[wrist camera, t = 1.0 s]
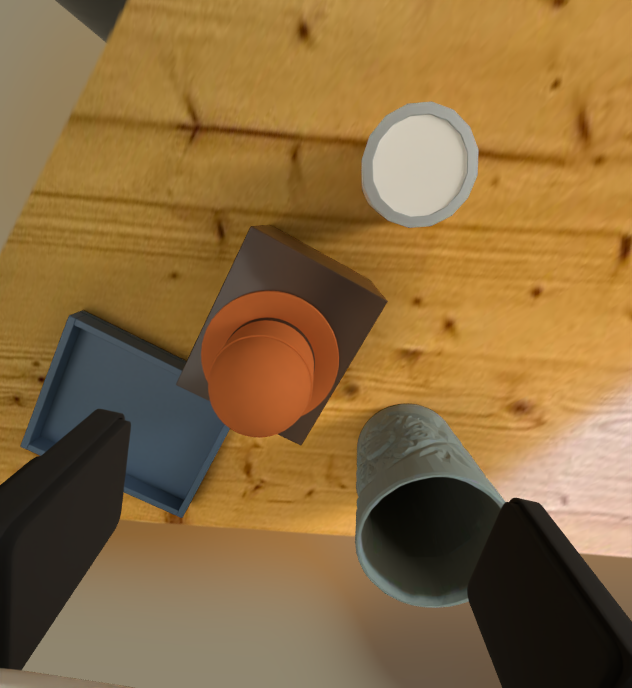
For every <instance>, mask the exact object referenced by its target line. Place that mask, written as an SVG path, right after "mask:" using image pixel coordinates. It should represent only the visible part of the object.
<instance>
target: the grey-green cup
mask: <svg viewBox="0 0 632 688" xmlns="http://www.w3.org/2000/svg"><path fill="white" fill-rule="evenodd" d="M356 477H357V482H356V489H357V494H358V499H357V511H356V535H355V544H356V553H357V556H358V560H359V562H360V565H361V567H362V569H363V571H364V572H365V574H366V575H367V576H368V578H369V579H370V580H371V581H372V582H373V583H374V584H375V585H376V586H377V587H379V588H380V589H381V590H382V591H383V592H384V593H385V594H387V595H389V596H391V597H393V598H395V599H396V600H399V601H401V602H404V603H407V604H410V605H415V606H420V607H434V608H435V607H436V608H438V607H449V606H454V605H459V604H462V603H465V602H468V601H469V600H468V596H467V587H468V583H469V580H470V578H471V576H472V574H473V571H474V569H475V567H476V564H477V562H478V560H479V558H480V555H481V553H482V551H483V549H484V546H485V544H486V542H487V539H488V537H489V535H490V533H491V530H492V528H493V526H494V524H495V521H496V519H497V517H498V514H499V512H500V510H501V508H502V506H503V504H504V503H506V502H505V501H504V499H503V498H502V497H501V495H500V494H499V493H498V491H497V490H496V489H495V487H494V486H493V485H492V484H491V482H490V481H489V480H488V479H487V478H486V477H485V475H484V473H483V472H482V471H481V469H480V468H479V466H478V465H477V464H476V462H475V461H474V459H473V458H472V457H471V455H470V454H469V453H468V451H467V450H466V449H465V448H464V447H463V445H462V444H461V442H460V441H459V439H458V438H457V437H456V435H455V434H454V433H453V432H452V430H451V428H450V427H449V426H448V424H447V423H446V422H445V421H444V420H443V418H442V417H441V416H439V415H438V414H437V413H435V412H434V411H432V410H430V409H428V408H425V407H423V406H420V405H416V404H399V405H394V406H391V407H387V408H385V409H383V410H381V411H380V412H378V413H376V414H375V415H374V416H373V417H372V418H370V419H369V421H368V422H367V423H366V424H365V426H364V427H363V429H362V431H361V433H360V436H359V439H358V444H357V473H356Z"/></svg>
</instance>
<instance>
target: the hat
mask: <svg viewBox="0 0 632 688" xmlns="http://www.w3.org/2000/svg"><path fill="white" fill-rule="evenodd" d="M201 362H202V367H203V372H204V375H205V378H206V380H207V382H208V393H209V398H210V402H211V405H212V407H213V409H214V411H215V413H216V415H217V416H218V417H219V419H220V420H221V421H222V422H223V423H224V424H225V425H226V426H227V427H229V428H230V429H231V430H233V431H235V432H237V433H239V434H242V435H245V436H250V437H268V436H272V435H275V434H278V433H281V432H283V431H285V430H286V429H288V428H289V427H290V426H292V425H293V424H294V423H295V422H296V421H297V420H298V419H299V418H300V417H301V416H303V415H305V414H307V413H308V412H310V411H312V410H313V409H314V408H316V407H317V406H318V405H319V404H320V403H321V402H322V401H323V400H324V399H325V398H326V396H327V395H328V393H329V392H330V391H331V389H332V387H333V385H334V382H335V379H336V377H337V372H338V367H339V352H338V346H337V341H336V338H335V335H334V333H333V330H332V329H331V327H330V325H329V323H328V322H327V320H326V319H325V318H324V316H323V315H322V314H321V313H320V312H319V311H318V310H317V309H316V308H315V307H313V306H312V305H311V304H309V303H308V302H306V301H305V300H303V299H301V298H299V297H297V296H294V295H291V294H288V293H285V292H279V291H257V292H252V293H248V294H245V295H243V296H240V297H238V298H236V299H234V300H232V301H231V302H229V303H228V304H227V305H225V306H224V307H223V308H222V309H221V310H220V311H219V312H218V313H217V314H216V315H215V316H214V318H213V319H212V320H211V322H210V324H209V325H208V327H207V329H206V332H205V334H204V338H203V342H202V349H201Z"/></svg>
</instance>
